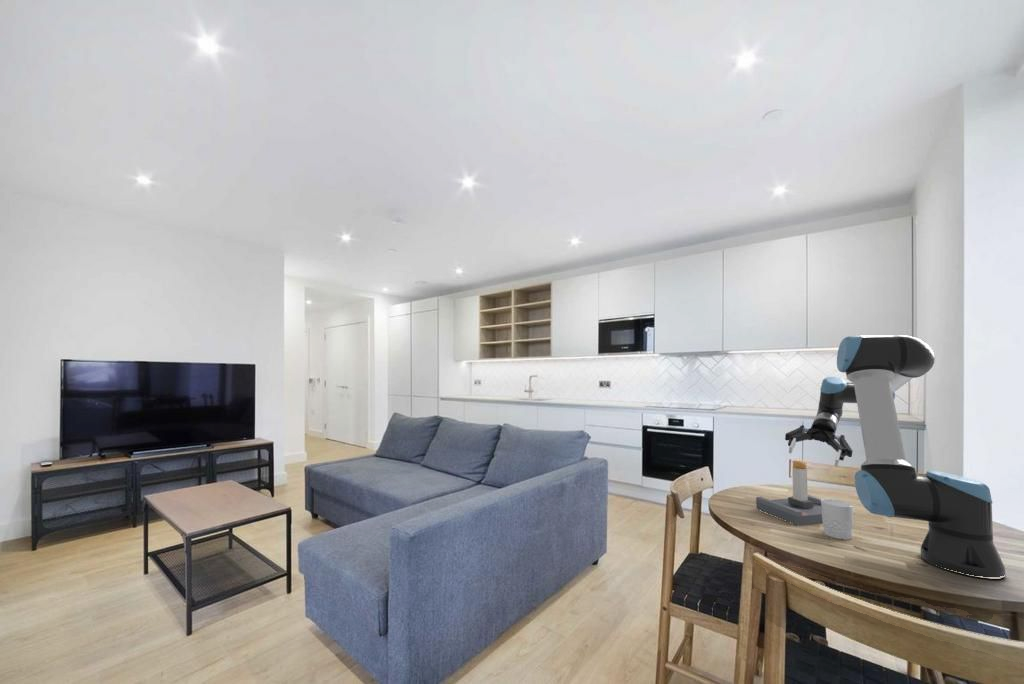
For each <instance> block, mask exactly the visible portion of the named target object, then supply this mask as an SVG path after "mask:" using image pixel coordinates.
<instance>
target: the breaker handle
mask: <svg viewBox="0 0 1024 684" xmlns="http://www.w3.org/2000/svg"><path fill="white" fill-rule="evenodd" d="M807 467H808V466H807V462H806V461H802V460H793V461H792V496H789V497H787V498H788V503H790V504H793V505H796V506H798V507H801V508H813V502H812V501H809V500H808V495H809V494H808V468H807Z"/></svg>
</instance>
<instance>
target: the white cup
mask: <svg viewBox="0 0 1024 684" xmlns="http://www.w3.org/2000/svg"><path fill="white" fill-rule="evenodd" d="M820 499H821V510H822V521H823V523H822V527H823V534H824V535H826V536H828V537H830V538H833V539H836V540H842V539H843V540H845V541H849V540H851V539H852V529H853V523H854V522H853V521H854V520H853V518H854V517H853V515H854V511H853V510H854V505H853V504H852V503H850V502H848V501H845V500H840V499H837V498H835V499H834V498H820Z"/></svg>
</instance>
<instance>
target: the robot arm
mask: <svg viewBox="0 0 1024 684" xmlns="http://www.w3.org/2000/svg"><path fill="white" fill-rule="evenodd" d="M935 361H936V357H935V353H934V351H933V350H932V348H931V347H930V346H929V345H928V344H927V343H926V342H924V341H922V340H921V339H920V338H917V337H913V336H910V335H904V334H903V335H862V334H860V335H853V336H852V335H850V336H846V337H844V338H842V340H841V341H840V344H839V346H838V349H837V354H836V368H837V371H838V372H841V373H843V374H844V373H845V376H846V380H848V381H849V382H851V383H847V381H846V380H845V379H843V378H841V377H836V376H827V377H825V378H823V379H822V382H821V386H820V394H819V402H818V407H817V412H816V415H815V417H814V420H813V421H812V424H811V425H810V427H809V428H807V427H805V425H803V424H802V425H800V426H799V427H797V428H795V429H793V430H791V431H789V432H786V433H785V435H784V436H785V437H784V440H785V441H787V446H788V447H789V450H788V454H792V453H793V451H794V448H795V446H796V444H797V442H804V441H812V440H814V441H819V442H821V443H826V444H827V445H828V446H830V447H832V449H833V450H835V451H836V452H837V454H836V458H835V463H834V467H838V465H839V462H840V461H844V460H845V457H846V456H847V457H849V458H853V451H854V450H852V448H851V446H850V444H849V443H848V442H847V440H846V439H845V438H846V436H845V435H844V434H840V436H839V435H836V432H837V430H838V426H839V422H840V420H841V418H842V416H843V412H844V411H843V410H844V409H843V406H844V404H856V405H857V411H858V417H859V418H858V419H859V424H860V429H861V436H862V441H863V447H864V448H863V449H864V453H865V461H864V462H863V463H862V464H861V465H860V470H857V471H856V472H855V473H854V485H855V486H854V487H855V490H856V494H857V497H858V499H859V501H860V503H861V504H862V506H863V507H864V509H865V510H867V512H869V513H871V514H873V515H876V516H877V515H878V516H883V517H887V518H899V519H907V520H915V521H923V522H928V529H927V532H926V535H925V537H924V539H923V541H922V543H921V546H920V557H921V558H922V560H924V559H925V560H926V561H925V560H924V561H925V562H927V561H928V562H927V563H929V562H930V563H932V564H931V565H933V564H934V565H933V566H935V565H937V566H939V567H938V568H940V567H942V568H946V569H949V570H953V571H957V572H961V573H964V574H969V575H974V576H983V577H1000V576H1004V575H1005V576H1006V568H1005V567H1006V566H1005V565H1004V563H1003V560H1002V558H1001V556H1000V554H999V551H998V550H997V548H996V546H995V543H994V532H993V528H994V527H993V507H992V504H993V500H992V495H991V488H990V487H989V486H988V485H987V484H986V483H984V482H982V481H980V480H976V479H973V478H971V477H970V478H969V477H965V476H961V475H957V474H953V473H948V472H942V471H937V470H928V471H926V472H925V476H922V475H917V472H916V467H915V466H913V465H912V464H911V463H909V462H908V461H907V460H906V459H907V458H906V453H905V448H904V444H903V439H902V433H901V430H900V424H899V419H898V413H897V410H896V404H895V397H896V394H895V392H897V391H898V390H900V389H901V388H902V387H904V386H905V385H906V384H907V383H908V382H910V381H911V380H912V379H915V378H920V377H923V376H924V375H926V374H927V373H928V372H930V370H932V368H933V366H934V364H935ZM930 563H929V564H930ZM937 566H936V567H937ZM942 568H941V569H942Z"/></svg>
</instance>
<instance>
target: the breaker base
mask: <svg viewBox="0 0 1024 684" xmlns="http://www.w3.org/2000/svg"><path fill="white" fill-rule="evenodd" d="M755 497H756V500H755V501H756V502H755V505H756V510H757V509H758V510H757V511H759V510H761V511H763V512H762V513H764V512H766V513H768V514H767V515H769V514H771V515H773V516H772V517H774V516H776V517H778V518H777V519H779V518H781V519H783V520H782V521H784V520H786V521H788V522H787V523H789V522H791V523H793V524H792V525H794V524H795V526H796V525H797V527H799V526H798V525H802V526H808V525H809V526H810V525H818V524H819V525H820V524H823V521H822V510H821V499H822V498H820V497H817V496H814V495H811V494H808V500H809V501H812V502H813V508H801V507H798V506H796V505H793V504H790V503H788V497H787V498H777V499H776V498H774V499H769V498H766V497H763V496H755ZM761 511H760V512H761ZM766 513H765V514H766ZM771 515H770V516H771ZM776 517H775V518H776ZM781 519H780V520H781ZM786 521H785V522H786ZM791 523H790V524H791Z"/></svg>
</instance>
